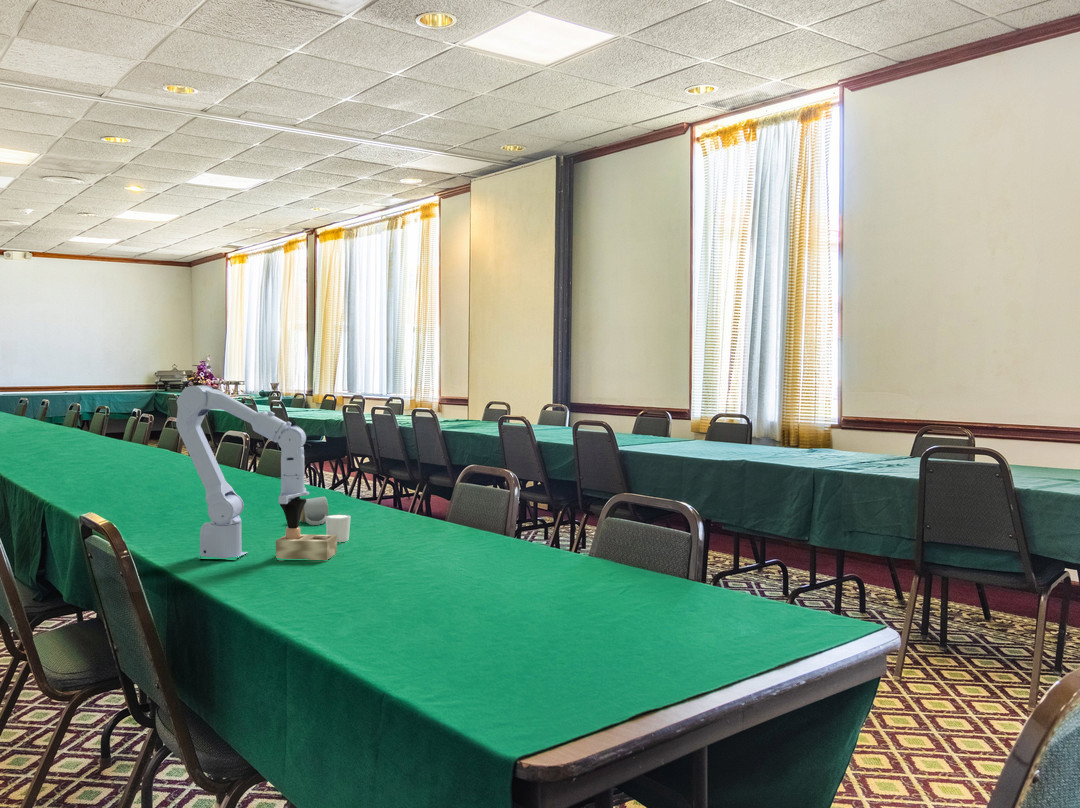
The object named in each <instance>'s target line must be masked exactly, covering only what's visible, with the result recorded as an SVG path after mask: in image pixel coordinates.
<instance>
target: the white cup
mask: <svg viewBox="0 0 1080 808" xmlns="http://www.w3.org/2000/svg"><path fill="white" fill-rule="evenodd" d="M325 520H326V521H325V529H326V535H337V542H345V541H348V540H349V539H350V538H349V537H350V529H351V528H350V526H351V515H349V514H331V515H329V514H328V516H326V517H325ZM349 541H350V540H349ZM349 541H348V542H349ZM345 543H346V542H345Z"/></svg>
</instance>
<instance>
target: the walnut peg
mask: <svg viewBox="0 0 1080 808" xmlns="http://www.w3.org/2000/svg"><path fill="white" fill-rule="evenodd" d="M327 539H328V537H327V536H315V537H313V540H327Z"/></svg>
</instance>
